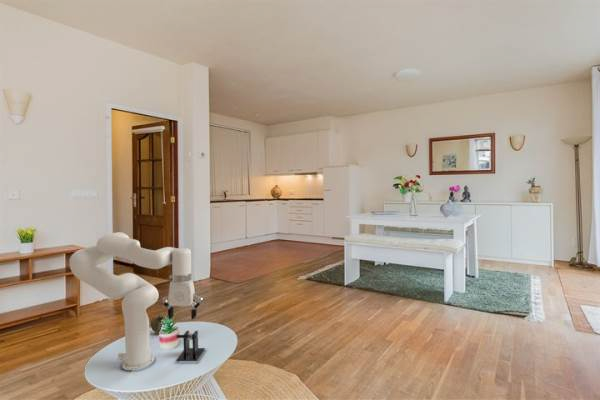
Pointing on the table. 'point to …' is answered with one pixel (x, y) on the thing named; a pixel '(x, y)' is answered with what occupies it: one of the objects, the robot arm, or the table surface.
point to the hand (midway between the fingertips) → (182, 317)
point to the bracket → (191, 349)
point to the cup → (156, 324)
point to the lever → (185, 336)
